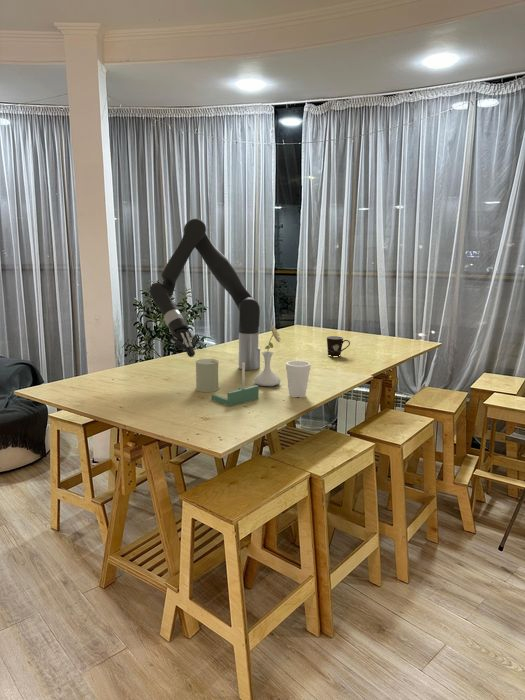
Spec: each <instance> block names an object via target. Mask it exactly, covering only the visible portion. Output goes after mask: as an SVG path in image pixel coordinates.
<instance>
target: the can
mask: <svg viewBox="0 0 525 700" xmlns="http://www.w3.org/2000/svg"><path fill="white" fill-rule="evenodd" d="M195 377H196V381H195V382H196V383H195V386H196V387H195V390H196V391H198V392H200V393H213V392H217V391H219V389H220V388H219V360H217V359H214V358H201V359H196V361H195Z"/></svg>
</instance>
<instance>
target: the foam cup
mask: <svg viewBox="0 0 525 700" xmlns="http://www.w3.org/2000/svg"><path fill="white" fill-rule="evenodd" d="M311 366H312V365H311V362H309V361H306V360H289V361H287V362H285V370H286V376H287V377H286V379H287V387H288V394H289V395H290V396H292V397H291V398H293V397H303V398H305V397H306V396H307V395H306V394H307V389H308V381H309V376H310V371H311ZM290 396H289V397H290ZM304 396H305V397H304Z"/></svg>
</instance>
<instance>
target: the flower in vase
mask: <svg viewBox="0 0 525 700" xmlns="http://www.w3.org/2000/svg"><path fill="white" fill-rule="evenodd" d="M270 331H271V333H272V335H271V337H270V339H269V341H268V345H265V347H264V349H265V350H266V351H262V352H261V354H262V355H263V360H264V368H263V370H262V371H261V372H260V373H258V374H257V375H256V376H255V377H254V379H253V382H254V384H255V385H257V386H262V387H274V386H277V385H279V384H280V383H281V378H280V377H279V376H278V375H277V374H275V372H274V371H272V370H271V359H272V356H273V355H274V351H269V350H270V349H273V348H274V344H273V343H272V342H271V341H272V338H273V337H274V339H275V340H276V342H278V343H281V340H282V339H281V338H280V334H279V333H278V330H277V328H275V326H274V325H270Z"/></svg>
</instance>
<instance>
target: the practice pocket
mask: <svg viewBox="0 0 525 700" xmlns="http://www.w3.org/2000/svg"><path fill="white" fill-rule="evenodd" d="M241 373H242V374H241V386H240V387H237V389H236V390H232V391H228V392H227V393H226V394H227V395H226V396H227V398H226V397H224V396H220V395H219V394H216V393H213V394H211V399H212V401H214V402H217V403H219V404H222V405H225V406H227V407H233V406H236V405H240V404H243V403H246V402H251V401H253V400H254V401H255V400H257V399H259V396H260V395H259V392H260V389H259V388H260V387H259V386H260V385H258V384H255V385H252V386H248V387H245V385H246V384H245V383H246V370H245V363H242V369H241Z"/></svg>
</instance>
